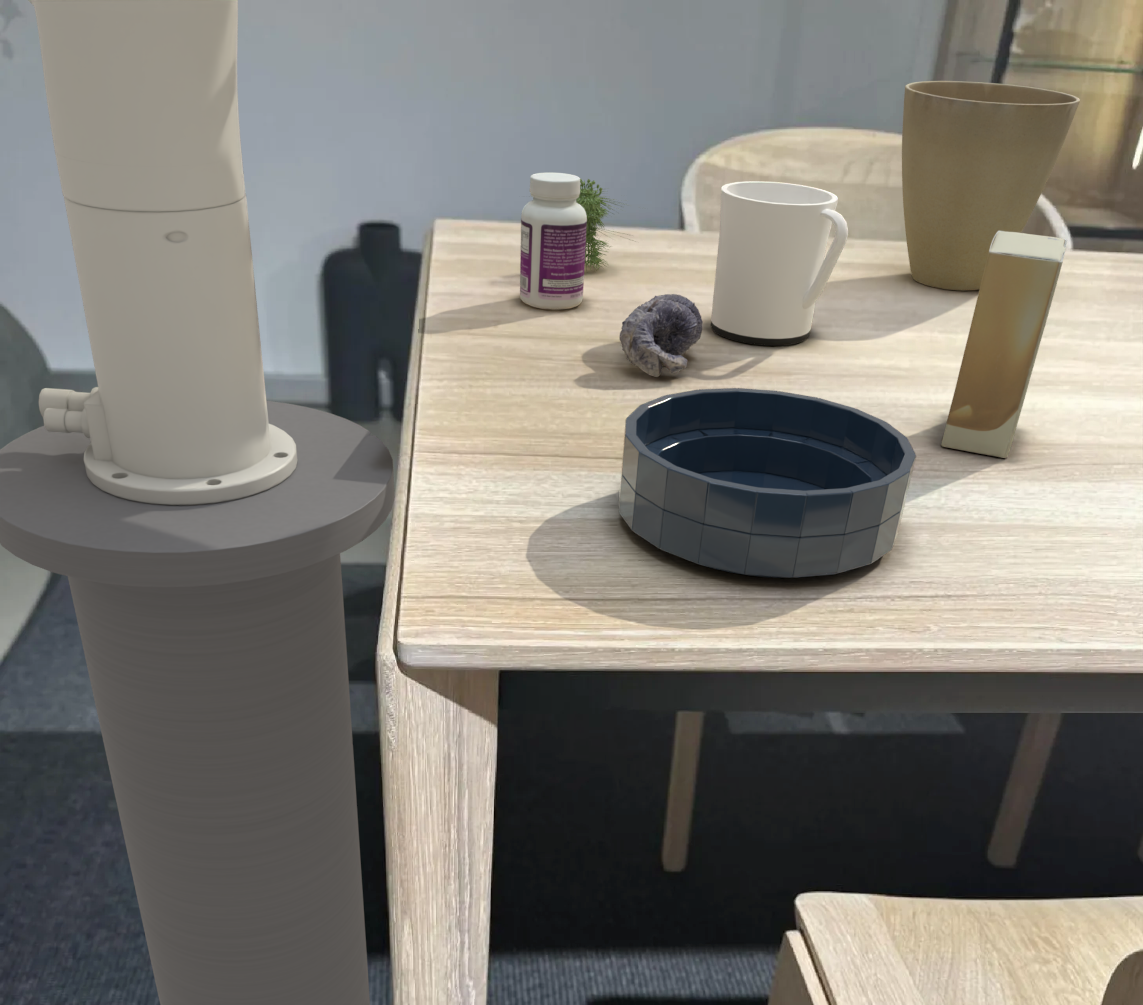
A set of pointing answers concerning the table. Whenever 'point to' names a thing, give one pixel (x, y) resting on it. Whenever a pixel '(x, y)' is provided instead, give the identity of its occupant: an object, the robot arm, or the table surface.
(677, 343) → the seashell
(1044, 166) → the plant pot
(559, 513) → the table surface
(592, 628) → the table surface
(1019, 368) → the cosmetic box
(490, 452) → the table surface
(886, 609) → the table surface
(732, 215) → the mug
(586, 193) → the green plant
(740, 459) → the bowl
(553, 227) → the pill bottle
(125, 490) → the robot arm
